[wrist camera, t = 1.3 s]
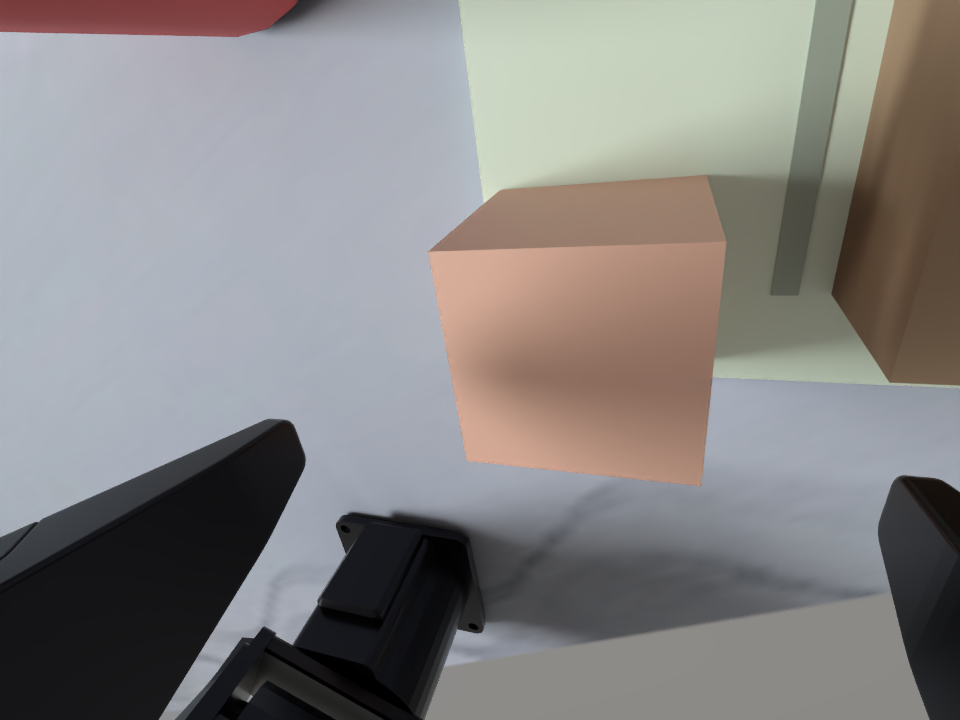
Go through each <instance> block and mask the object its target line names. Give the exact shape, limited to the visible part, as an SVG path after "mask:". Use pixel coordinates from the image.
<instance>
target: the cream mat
mask: <svg viewBox="0 0 960 720" xmlns="http://www.w3.org/2000/svg"><path fill="white" fill-rule="evenodd" d="M458 1H459V9H460V17H461V25H462V33H463V41H464V49H465V57H466V65H467V73H468V81H469V89H470V97H471V105H472V113H473V121H474V129H475V137H476V145H477V153H478V161H479V169H480V177H481V185H482V193H483V201H484V203H485V202H487V201H488V200H489V199H490V198H491V197H492V196H494V195H495V194H496V193H497V192H498V191H499V190H505V189H518V188H532V187H546V186H560V185H574V184H588V183H601V182H615V181H629V180H643V179H657V178H671V177H684V176H698V175H707V178H708V182H709V185H710V188H711V192H712V195H713V198H714V202H715V205H716V208H717V212H718V215H719V218H720V222H721V225H722V228H723V232H724V235H725V238H726V251H725V261H724V270H723V280H722V290H721V299H720V309H719V319H718V328H717V338H716V348H715V357H714V367H713V377H716V378H739V379H761V380H784V381H807V382H829V383H852V384H874V385H897V386H919V387H942V388H960V386H957V385H933V384H910V383H889V381H888V380H887V378H886V377H885V375H884V374H883V372H882V371H881V369H880V368H879V366H878V364H877V363H876V361H875V360H874V358H873V357H872V355H871V354H870V352H869V351H868V349H867V348H866V346H865V345H864V343H863V342H862V340H861V339H860V337H859V336H858V334H857V333H856V331H855V330H854V328H853V327H852V325H851V323H850V322H849V320H848V319H847V317H846V316H845V314H844V313H843V311H842V310H841V308H840V307H839V305H838V304H837V302H836V301H835V299H834V298H833V296H832V295H831V293H832V288H833V284H834V279H835V274H836V270H837V265H838V261H839V256H840V251H841V247H842V242H843V237H844V233H845V228H846V223H847V219H848V214H849V209H850V205H851V200H852V195H853V191H854V186H855V182H856V177H857V172H858V168H859V163H860V158H861V154H862V149H863V144H864V140H865V135H866V130H867V126H868V121H869V116H870V112H871V107H872V102H873V98H874V93H875V89H876V84H877V79H878V75H879V70H880V65H881V61H882V56H883V51H884V47H885V42H886V37H887V33H888V28H889V23H890V19H891V14H892V10H893V5H894V0H458Z"/></svg>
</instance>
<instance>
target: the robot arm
mask: <svg viewBox="0 0 960 720" xmlns="http://www.w3.org/2000/svg"><path fill="white" fill-rule="evenodd" d="M305 462H306V458H305V453H304V451H303V448H302V445H301V443H300V440H299V437H298V434H297V432H296V429H295V427H294V425H293V424H292V423H291V422H290V421H288V420H282V419H267V420H264V421H262V422H259V423H257V424H255V425H253V426H250V427H248V428H246V429H244V430H241V431H239V432H237V433H235V434H232V435H230V436H228V437H226V438H223V439H221V440H219V441H217V442H214V443H212V444H210V445H208V446H205V447H203V448H201V449H199V450H196V451H194V452H192V453H190V454H187V455H185V456H183V457H181V458H178V459H176V460H174V461H172V462H169V463H167V464H165V465H163V466H160V467H158V468H156V469H154V470H151V471H149V472H147V473H145V474H142V475H140V476H138V477H136V478H133V479H131V480H129V481H127V482H124V483H122V484H120V485H118V486H115V487H113V488H111V489H109V490H106V491H104V492H102V493H100V494H97V495H95V496H93V497H91V498H88V499H86V500H84V501H82V502H79V503H77V504H75V505H73V506H70V507H68V508H66V509H64V510H61V511H59V512H57V513H54V514H52V515H50V516H48V517H45V518H43V519H42V520H41V521H40V522H34V523H32V524H29V525H27V526H25V527H23V528H20V529H18V530H16V531H14V532H11V533H9V534H7V535H5V536H2V537H0V720H159V718H160V716H161V715H162V713H163V712H164V710H165V708H166V707H167V705H168V703H169V702H170V700H171V699H172V697H173V695H174V694H175V692H176V691H177V689H178V687H179V686H180V684H181V682H182V681H183V679H184V678H185V676H186V674H187V673H188V671H189V669H190V668H191V666H192V665H193V663H194V661H195V660H196V658H197V656H198V655H199V653H200V652H201V650H202V648H203V647H204V645H205V643H206V642H207V640H208V639H209V637H210V635H211V634H212V632H213V630H214V629H215V627H216V626H217V624H218V622H219V621H220V619H221V617H222V616H223V614H224V613H225V611H226V609H227V608H228V606H229V604H230V603H231V601H232V600H233V598H234V596H235V595H236V593H237V592H238V590H239V588H240V587H241V585H242V583H243V582H244V580H245V579H246V577H247V575H248V574H249V572H250V570H251V569H252V567H253V566H254V564H255V562H256V561H257V559H258V557H259V556H260V554H261V552H262V551H263V549H264V547H265V546H266V544H267V542H268V540H269V538H270V536H271V534H272V533H273V531H274V529H275V527H276V525H277V523H278V521H279V519H280V516H281V514H282V512H283V510H284V508H285V506H286V504H287V502H288V500H289V498H290V496H291V494H292V492H293V490H294V488H295V486H296V484H297V482H298V480H299V478H300V476H301V474H302V472H303V470H304V467H305ZM336 529H337V531H338V534H339V537H340V539H341V542H342V545H343V547H344V550H345V553H346V555H345V557H344V558H343V560H342V562H341V563H340V565H339V566H338V568H337V569H336V571H335V573H334V574H333V576H332V577H331V579H330V581H329V582H328V584H327V585H326V587H325V588H324V590H323V592H322V593H321V595H320V596H319V598H318V601H317V602H318V605H317V606H316V608H315V609H314V611H313V613H312V614H311V616H310V617H309V619H308V621H307V622H306V624H305V625H304V627H303V629H302V630H301V632H300V633H299V635H298V637H297V638H296V640H295V641H294V643H293V645H291V644H289V643H287V642H285V641H284V640H282V639H280V638H278V637H277V636H276V633H275V632H274V631H272V630H270V629H268V628H267V627H265V626H264V627H263V628H262V629H261V630H260V632H259V633H258V634H257V635H256V637H255V638H242V639H241V640H240V641H239V643H238V644H237V646H236V647H235V648H234V650H233V651H232V652H231V654H230V655H229V657H228V658H227V659H226V661H225V662H224V664H223V665H222V666H221V668H220V669H219V670H218V672H217V673H216V674H215V676H214V677H213V678H212V679H211V681H210V682H209V683H208V684H207V685H206V686H205V688H204V689H203V690H202V691H201V692H200V693H199V694H198V695H197V696H196V697H195V699H194V700H193V701H192V702H191V703H190V704H189V705H188V706H187V707H186V708H185V709H184V711H183V712H182V713H181V714H180V715H179V716H178V717H177V718H176V719H175V720H424V719H425V717H426V714H427V711H428V708H429V706H430V703H431V700H432V697H433V695H434V692H435V689H436V686H437V684H438V681H439V678H440V675H441V672H442V670H443V667H444V664H445V661H446V659H447V656H448V653H449V650H450V648H451V645H452V642H453V639H454V636H455V634H456V631H457V629H459V630H463V631H468V632H472V633H481V632H482V631H483V629H484V626H485V622H486V621H485V616H484V611H483V606H482V601H481V596H480V591H479V586H478V581H477V576H476V571H475V566H474V561H473V556H472V551H471V546H470V542H469V539H468V538H467V537H466V536H465V535H463V534H461V533H458V532H452V531H446V530H440V529H433V528H427V527H420V526H414V525H408V524H401V523H395V522H388V521H382V520H376V519H369V518H363V517H356V516H350V515H343V516H341V517H340V519H339V520H338V522H337V523H336ZM878 537H879V543H880V547H881V552H882V556H883V560H884V564H885V568H886V572H887V576H888V580H889V584H890V589H891V593H892V597H893V601H894V605H895V609H896V613H897V617H898V622H899V626H900V630H901V634H902V638H903V642H904V645H905V649H906V653H907V657H908V660H909V663H910V667H911V669H912V672H913V675H914V678H915V681H916V684H917V687H918V690H919V692H920V695H921V697H922V700H923V703H924V706H925V708H926V711H927V713H928V716H929V719H930V720H960V492H959V491H958V490H956V489H955V488H953V487H952V486H950V485H949V484H947V483H945V482H944V481H942V480H940V479H936V478H929V477H917V476H906V475H903V476H899V477H897V478H896V479H895V480H894V481H893V483H892V485H891V488H890V491H889V494H888V497H887V500H886V503H885V506H884V509H883V512H882V515H881V518H880V521H879V526H878ZM250 695H252V696H253V697H252V699H251V700H250V701H249V703H248V702H246V701H247V700H248V698H249V696H250Z"/></svg>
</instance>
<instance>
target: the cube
mask: <svg viewBox="0 0 960 720" xmlns="http://www.w3.org/2000/svg"><path fill="white" fill-rule="evenodd" d="M725 251H726V238H725V235H724V232H723V228H722V225H721V222H720V218H719V215H718V212H717V208H716V205H715V202H714V198H713V195H712V192H711V188H710V185H709V182H708V178H707V175H698V176H684V177H671V178H657V179H643V180H629V181H615V182H601V183H588V184H574V185H560V186H546V187H532V188H518V189H505V190H499V191H498V192H497V193H496V194H495V195H494V196H492V197H491V198H490V199H489V200H488V201H487V202H485V203H484V204H483V205H482V206H481V207H480V208H478V209H477V210H476V211H475V212H474V213H473V214H471V215H470V216H469V217H468V218H467V219H466V220H464V221H463V222H462V223H461V224H460V225H459V226H457V227H456V228H455V229H454V230H453V231H452V232H450V233H449V234H448V235H447V236H446V237H445V238H444V239H442V240H441V241H440V242H439V243H438V244H437V245H435V246H434V247H433V248H432V249H431V250H430V251H428V253H429V259H430V264H431V270H432V275H433V280H434V286H435V291H436V297H437V302H438V308H439V313H440V318H441V324H442V329H443V335H444V340H445V345H446V351H447V356H448V362H449V367H450V373H451V378H452V383H453V389H454V394H455V400H456V405H457V410H458V416H459V421H460V427H461V432H462V438H463V443H464V448H465V454H466V459H467V461H473V462H482V463H492V464H501V465H510V466H520V467H529V468H538V469H547V470H557V471H566V472H575V473H585V474H594V475H603V476H612V477H622V478H631V479H640V480H650V481H659V482H668V483H677V484H687V485H696V486H701V483H702V473H703V463H704V454H705V444H706V434H707V425H708V415H709V406H710V396H711V386H712V377H713V367H714V357H715V348H716V338H717V328H718V319H719V309H720V299H721V290H722V280H723V270H724V261H725Z"/></svg>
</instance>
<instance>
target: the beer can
mask: <svg viewBox="0 0 960 720" xmlns="http://www.w3.org/2000/svg"><path fill="white" fill-rule="evenodd" d="M297 2H298V0H0V32H35V33H81V34H128V35H174V36H221V37H239V36H242V35H246V34H250V33H254V32H257V31H261V30H265V29H268V28H269V27H270V26H272V25H273V24H274V23H275V22H276V21H277V20H279V19H280V18H281V17H282V16H283V15H284V14H285V13H287V12H288V11H289V10H290V9H291V8H292V7H294V6H295V4H296V3H297Z"/></svg>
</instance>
